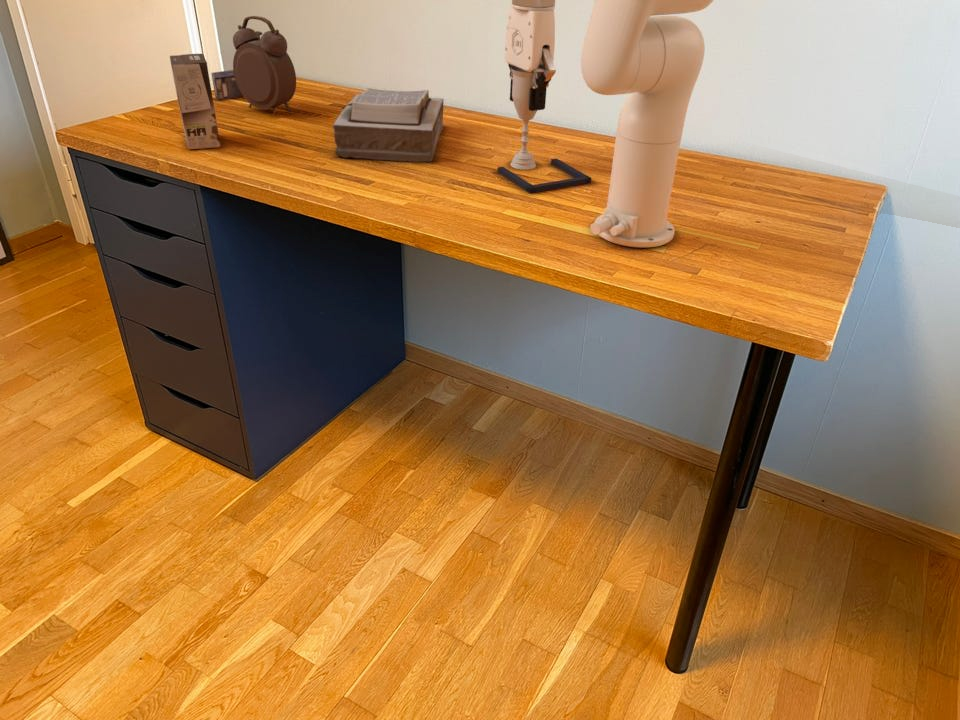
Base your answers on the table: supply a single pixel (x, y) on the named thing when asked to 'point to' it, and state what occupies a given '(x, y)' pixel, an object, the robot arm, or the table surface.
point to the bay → (578, 180)
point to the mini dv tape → (225, 85)
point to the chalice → (523, 115)
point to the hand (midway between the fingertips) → (527, 104)
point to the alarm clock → (263, 66)
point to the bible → (389, 126)
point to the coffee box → (195, 100)
